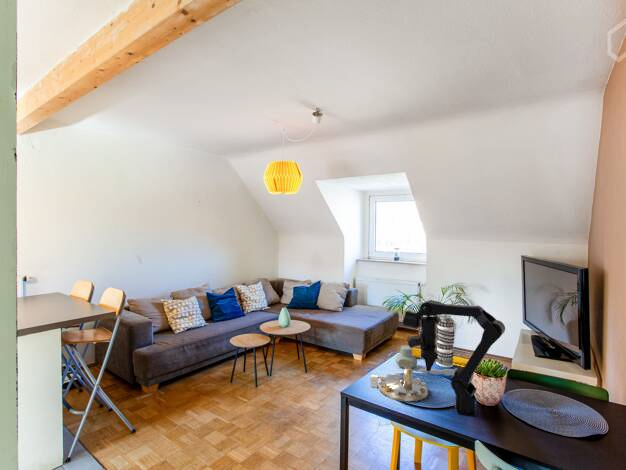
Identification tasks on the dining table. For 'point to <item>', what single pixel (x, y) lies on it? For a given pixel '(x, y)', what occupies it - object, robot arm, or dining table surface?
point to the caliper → (440, 371)
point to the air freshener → (406, 358)
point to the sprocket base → (402, 395)
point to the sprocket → (403, 383)
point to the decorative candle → (445, 342)
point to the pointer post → (374, 380)
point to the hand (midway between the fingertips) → (427, 368)
